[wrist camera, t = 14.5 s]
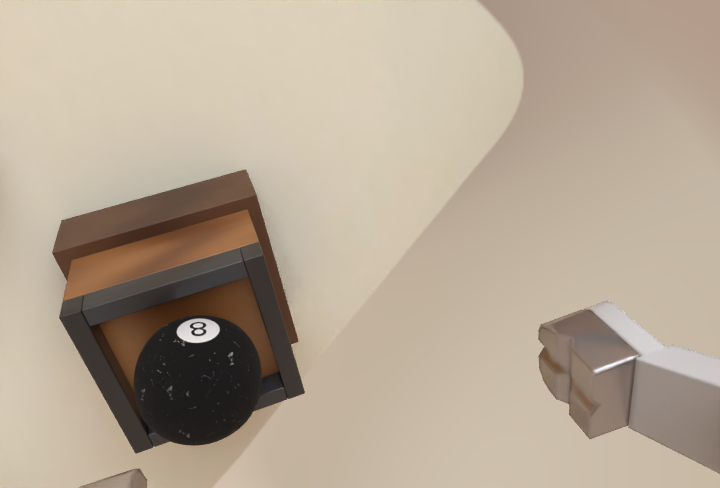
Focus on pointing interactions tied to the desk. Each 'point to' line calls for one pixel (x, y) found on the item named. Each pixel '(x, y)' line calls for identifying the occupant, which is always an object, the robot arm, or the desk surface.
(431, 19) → the desk surface
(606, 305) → the robot arm
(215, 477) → the desk surface
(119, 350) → the brown wooden box
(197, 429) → the billiard ball
